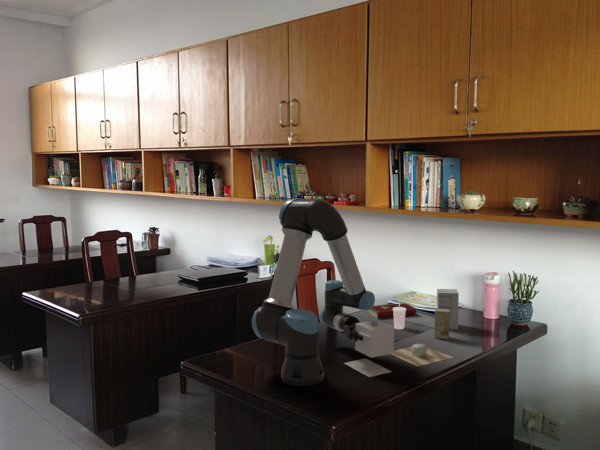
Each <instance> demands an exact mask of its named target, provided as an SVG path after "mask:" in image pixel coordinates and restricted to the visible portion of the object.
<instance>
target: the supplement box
mask: <svg viewBox="0 0 600 450" xmlns="http://www.w3.org/2000/svg"><path fill="white" fill-rule="evenodd" d="M459 295H460V294H459V291H458V289H457V288H449V289H448V288H436V309H448V310H450V317H449V330H459Z"/></svg>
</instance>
